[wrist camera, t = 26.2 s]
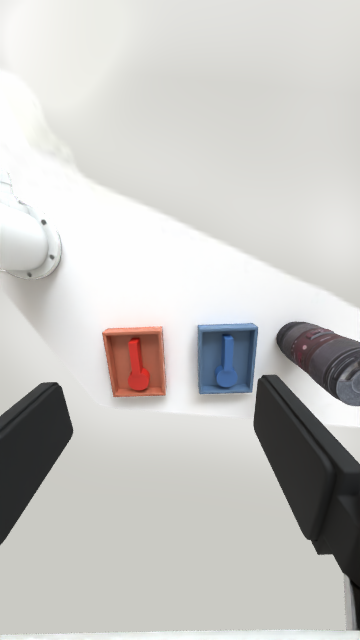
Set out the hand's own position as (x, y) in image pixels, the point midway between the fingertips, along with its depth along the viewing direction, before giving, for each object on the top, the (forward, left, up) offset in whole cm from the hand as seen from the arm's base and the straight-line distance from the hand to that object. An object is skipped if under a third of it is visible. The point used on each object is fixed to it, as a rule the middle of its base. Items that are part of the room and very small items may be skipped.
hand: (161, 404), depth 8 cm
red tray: (+12, -8, -26) cm, 30 cm away
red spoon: (+12, -8, -26) cm, 30 cm away
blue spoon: (+12, +10, -26) cm, 30 cm away
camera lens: (+8, +24, -26) cm, 37 cm away
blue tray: (+12, +10, -26) cm, 31 cm away
